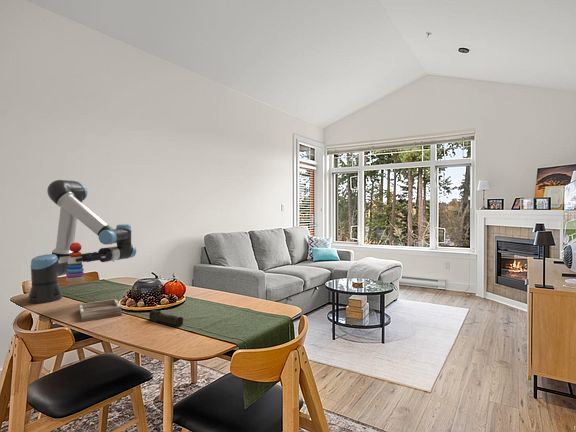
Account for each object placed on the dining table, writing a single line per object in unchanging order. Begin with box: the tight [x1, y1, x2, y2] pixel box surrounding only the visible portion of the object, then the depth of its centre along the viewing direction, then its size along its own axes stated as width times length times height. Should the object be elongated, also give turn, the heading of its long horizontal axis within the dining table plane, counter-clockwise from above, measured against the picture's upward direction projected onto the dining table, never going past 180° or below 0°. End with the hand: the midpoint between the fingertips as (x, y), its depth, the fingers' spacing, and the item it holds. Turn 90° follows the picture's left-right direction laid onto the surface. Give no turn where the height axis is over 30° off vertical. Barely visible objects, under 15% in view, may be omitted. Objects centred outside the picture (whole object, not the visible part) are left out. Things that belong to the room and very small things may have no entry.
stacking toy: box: [65, 241, 85, 282], centre depth 176 cm, size 8×8×19 cm
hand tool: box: [148, 309, 184, 328], centre depth 154 cm, size 19×4×5 cm, turn 58°
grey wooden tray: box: [78, 298, 123, 323], centre depth 167 cm, size 20×16×4 cm
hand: (64, 260), depth 171 cm, fingers closed on stacking toy, 6 cm apart
